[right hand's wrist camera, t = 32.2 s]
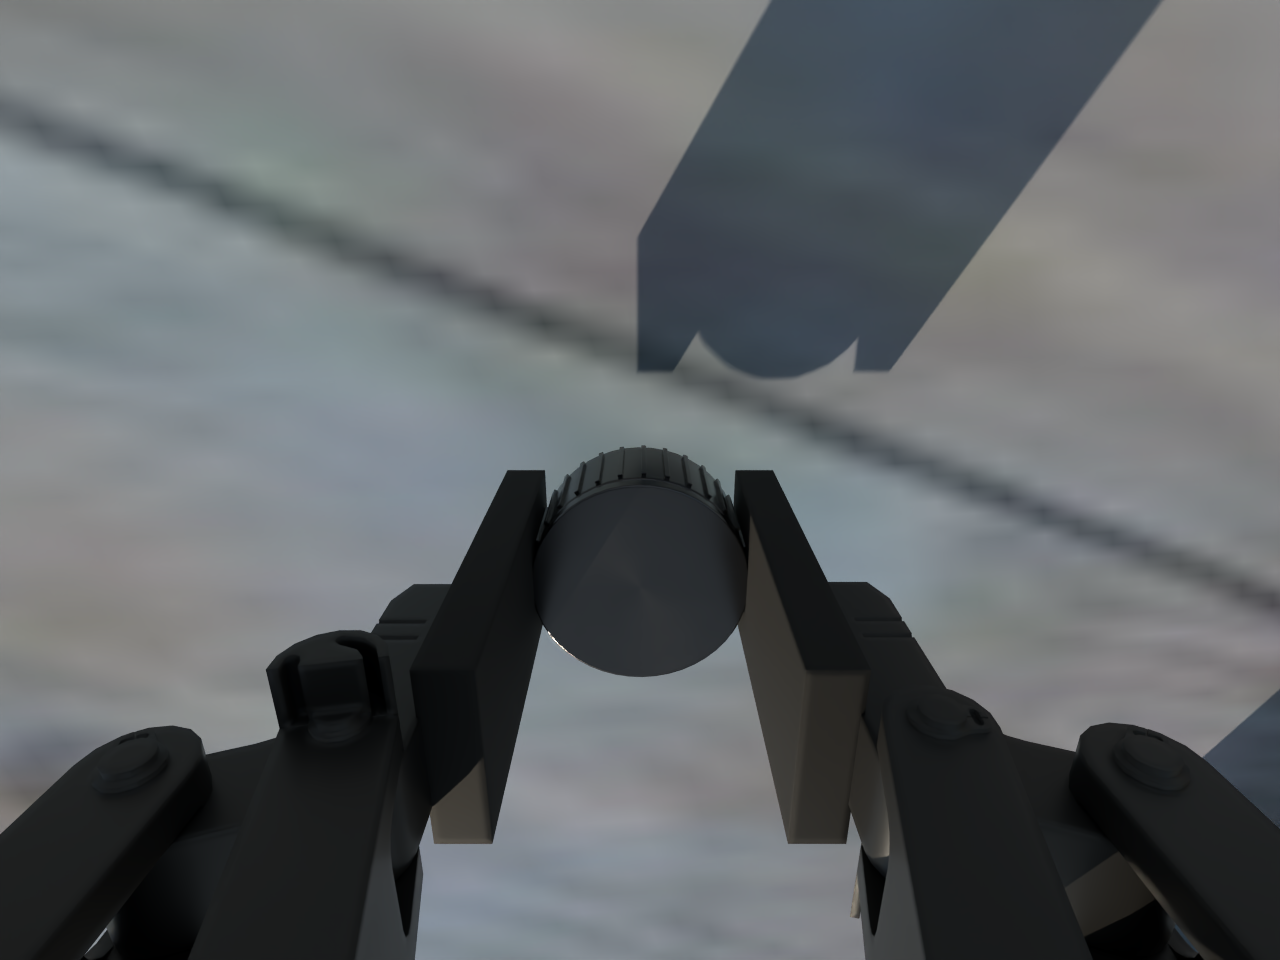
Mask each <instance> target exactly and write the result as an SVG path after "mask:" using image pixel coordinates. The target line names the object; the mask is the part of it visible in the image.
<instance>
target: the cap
mask: <svg viewBox="0 0 1280 960" xmlns="http://www.w3.org/2000/svg"><path fill="white" fill-rule="evenodd" d="M535 544H538V546H537V549H536V552H535V556H534V559H533V563H532V571H533V588H534V603H535V608H536V611H537V614H538V616H539V618H540V620H541V622H542V624H543V625H544V627H545V628H546V630H547V632H548V633H549V635H550V636H551V637H552V638H553V639H554V640H555V641H556V643H557V644H558V645H559V646H561V647H562V648H563V649H564V650H565V651H566V652H567V653H569V654H570V655H572V656H573V657H575V658H576V659H578V660H579V661H581V662H583V663H585V664H587V665H589V666H591V667H593V668H596V669H599V670H601V671H604V672H608V673H612V674H616V675H623V676H631V677H648V676H658V675H664V674H669V673H673V672H676V671H679V670H682V669H685V668H687V667H689V666H692V665H694V664H696V663H698V662H699V661H701V660H703V659H705V658H706V657H707V656H709V655H710V654H712V653H713V652H714V651H716V650H717V649H718V648H719V647H720V646H721V645H722V644H723V643H724V642H725V641H726V640H727V639H728V637H729V636H730V635H731V634H732V632H733V631H734V629H735V628H736V626H737V624H738V623H739V621H740V619H741V617H742V615H743V612H744V610H745V607H746V595H747V579H748V561H747V557H746V554H745V551H744V550H745V543H744V540H743V536H742V533H741V530H740V526H739V523H738V520H737V517H736V513H735V511H734V507H733V504H732V501H731V498H730V496H729V495H727V496H726V494H725V492H724V491H723V490H722V488H721V484H720V481H719V480H718V479H716V480H715V479H714V478H713V477H712V476H711V475H710V474H709V473H708V472H706V469H705V467H704V466H703V465H701V467H700V466H699V465H697V464H696V463H694V462H692V461H691V460H689V459H688V457H687V456H686V455H683V456H680V455H678V454H675V453H672V452H669V451H667V449H666V448H663V450H660V449H654V448H646V446H641V448H640V447H637V448H625V449H624V447H620V450H615V451H611V452H608V453H605V454H604V453H603V452H602V453H599V456H598V457H596V458H594V459H592V460H590V461H588V462H586V463H585V462H582V463H581V464H580V467H579V468H577V469H576V470H575V471H574V472H573V473H572V474H571V475H570V476H569V475H568V474H567V475H566V476H565V478H564V482H563V483H562V485H561V486H560V487H559V489H558V490H554V491H553V494H552V497H551V500H550V504H549V507H546V508H545V511H544V515H543V518H542V521H541V524H540V527H539V531H538V534H537V537H536V540H535Z"/></svg>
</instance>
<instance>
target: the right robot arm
mask: <svg viewBox="0 0 1280 960" xmlns="http://www.w3.org/2000/svg"><path fill="white" fill-rule="evenodd" d="M546 507H547V500H546V482H545V470H508V471H507V473H506V475H505V477H504V479H503V481H502V483H501V485H500V487H499V489H498V491H497V493H496V495H495V497H494V499H493V501H492V503H491V505H490V507H489V509H488V511H487V513H486V515H485V517H484V519H483V521H482V523H481V525H480V527H479V529H478V531H477V533H476V536H475V538H474V540H473V542H472V544H471V546H470V548H469V550H468V552H467V554H466V556H465V558H464V560H463V562H462V564H461V566H460V568H459V570H458V572H457V574H456V576H455V578H454V580H453V582H452V584H414V585H412V586H411V587H409V588H408V589H407V590H405V591H404V592H402V593H401V594H400V595H398V596H397V597H396V598H394V599H393V600H391V602H390V603H389V605H388V606H387V608H386V610H385V611H384V613H383V614H382V616H381V618H380V619H379V624H376V626H375V627H374V629H373V631H372V632H371V633H368V632H365V631H361V630H339V631H334V632H329V633H324V634H319V635H316V636H313V637H311V638H308V639H306V640H303V641H301V642H298V643H296V644H294V645H292V646H291V647H289V648H288V649H286V650H285V651H283V652H282V653H280V654H279V655H277V656H276V658H275V659H274V660H273V661H272V663H271V664H270V665H269V666H268V668H267V669H266V672H267V676H268V681H269V685H270V689H271V694H272V698H273V702H274V706H275V711H276V715H277V719H278V723H279V728H280V729H279V732H278V734H277V737H276V738H274V739H270V740H267V741H264V742H260V743H257V744H253V745H248V746H243V747H239V748H234V749H230V750H225V751H221V752H216V753H212V754H207V755H206V754H205V750H204V747H203V744H202V740H201V738H200V737H199V736H198V735H197V734H196V733H194V732H193V731H192V730H191V729H187V728H182V727H177V726H163V727H153V728H147V729H143V730H140V731H137V732H132V733H129V734H127V735H123V736H121V737H119V738H117V739H115V740H113V741H111V742H109V743H107V744H105V745H103V746H101V747H99V748H97V749H95V750H94V751H92V752H91V753H90V754H88V755H87V756H86V757H84V758H83V759H82V760H80V761H79V762H78V763H76V764H75V765H74V766H73V767H72V768H70V769H69V770H68V771H67V772H66V773H65V774H64V775H63V776H62V777H61V778H60V779H59V780H58V781H57V782H56V783H55V784H53V785H52V786H51V787H50V788H49V789H48V790H47V791H46V792H45V793H44V794H43V795H42V796H41V797H40V798H39V799H37V800H36V801H35V802H34V803H33V804H32V805H31V806H30V807H29V808H28V809H27V810H26V811H25V812H24V813H23V814H22V815H20V816H19V817H18V818H17V819H16V820H15V821H14V822H13V823H12V824H11V825H10V826H9V827H8V828H7V829H6V830H5V831H3V832H2V833H1V834H0V960H415V951H416V941H417V931H418V921H419V911H420V901H421V891H422V880H423V869H422V862H421V856H420V849H419V844H420V841H421V838H422V835H423V833H424V830H425V827H426V824H427V821H428V818H429V815H430V818H431V824H432V831H433V838H434V844H492V843H493V839H494V834H495V830H496V825H497V821H498V817H499V812H500V808H501V804H502V799H503V795H504V791H505V786H506V782H507V778H508V773H509V769H510V765H511V760H512V756H513V752H514V747H515V743H516V738H517V734H518V730H519V725H520V721H521V717H522V712H523V708H524V704H525V699H526V695H527V691H528V686H529V682H530V678H531V673H532V669H533V664H534V660H535V656H536V651H537V647H538V643H539V638H540V634H541V630H542V625H543V624H542V622H541V620H540V618H539V616H538V614H537V611H536V608H535V603H534V588H533V571H532V563H533V559H534V556H535V552H536V549H537V546H538V544H535V540H536V537H537V534H538V531H539V527H540V524H541V521H542V518H543V515H544V511H545V508H546ZM734 511H735V513H736V517H737V520H738V523H739V526H740V530H741V533H742V536H743V540H744V543H745V550H744V551H745V554H746V557H747V561H748V579H747V595H746V607H745V610H744V612H743V615H742V617H741V619H740V621H739V623H738V628H739V632H740V637H741V641H742V645H743V650H744V654H745V658H746V663H747V667H748V671H749V676H750V680H751V684H752V689H753V693H754V697H755V702H756V706H757V711H758V715H759V719H760V724H761V728H762V732H763V737H764V741H765V745H766V750H767V754H768V758H769V763H770V767H771V771H772V776H773V780H774V784H775V789H776V793H777V798H778V802H779V806H780V811H781V815H782V819H783V824H784V828H785V832H786V837H787V841H788V844H846V841H847V834H848V827H849V821H850V814H851V813H852V816H853V819H854V822H855V825H856V828H857V831H858V833H859V836H860V839H861V842H862V843H861V849H860V856H859V862H858V869H857V875H856V881H855V888H854V894H853V901H852V908H851V915H850V917H854V918H859V917H860V912H861V919H862V929H863V939H864V949H865V960H1280V829H1279V828H1278V827H1277V826H1276V825H1275V824H1274V823H1273V822H1271V821H1270V820H1269V819H1268V818H1267V817H1266V816H1265V815H1264V814H1263V813H1262V812H1261V811H1260V810H1259V809H1258V808H1256V807H1255V806H1254V805H1253V804H1252V803H1251V802H1250V801H1249V800H1248V799H1247V798H1246V797H1245V796H1244V795H1243V794H1241V793H1240V792H1239V791H1238V790H1237V789H1236V788H1235V787H1234V786H1233V785H1232V784H1231V783H1230V782H1229V781H1227V780H1226V779H1225V778H1224V777H1223V776H1222V775H1221V774H1220V773H1219V772H1218V771H1217V770H1216V769H1215V768H1214V767H1212V766H1211V765H1210V764H1209V763H1208V762H1207V761H1206V760H1204V759H1203V758H1201V757H1200V756H1199V755H1197V754H1196V753H1195V752H1193V751H1192V750H1191V749H1189V748H1188V747H1187V746H1185V745H1183V744H1181V743H1179V742H1177V741H1175V740H1173V739H1171V738H1169V737H1167V736H1165V735H1163V734H1161V733H1158V732H1155V731H1152V730H1149V729H1145V728H1142V727H1138V726H1135V725H1129V724H1118V723H1104V724H1099V725H1094V726H1090V727H1089V728H1088V729H1087V730H1086V731H1085V732H1084V733H1083V734H1081V735H1080V738H1079V742H1078V745H1077V749H1076V752H1073V751H1069V750H1064V749H1060V748H1055V747H1051V746H1046V745H1041V744H1037V743H1032V742H1028V741H1024V740H1020V739H1017V738H1013V737H1010V736H1007V735H1004V734H1003V733H1002V730H1001V728H1000V726H999V725H998V724H997V722H996V721H995V719H994V718H993V716H992V715H991V713H990V712H988V711H987V710H986V709H984V708H983V707H982V706H981V705H979V704H978V703H977V702H975V701H974V700H972V699H970V698H968V697H966V696H964V695H961V694H959V693H957V692H955V691H953V690H949V689H946V687H945V686H944V684H943V683H942V681H941V679H940V678H939V676H938V675H937V673H936V671H935V670H934V668H933V667H932V665H931V663H930V662H929V660H928V659H927V657H926V655H925V654H924V652H923V651H922V649H921V647H920V646H919V644H918V643H917V641H916V640H915V638H914V637H912V633H911V632H910V630H909V628H908V627H907V625H906V624H905V622H904V621H902V617H901V616H900V614H899V612H898V611H897V609H896V608H895V606H894V604H893V603H892V601H891V600H890V598H888V597H887V596H886V595H884V594H883V593H881V592H880V591H879V590H877V589H876V588H874V587H873V586H872V585H870V584H869V583H867V582H828V581H827V579H826V577H825V575H824V573H823V571H822V569H821V567H820V565H819V563H818V561H817V559H816V557H815V555H814V553H813V551H812V549H811V547H810V545H809V543H808V541H807V539H806V537H805V535H804V533H803V531H802V529H801V526H800V524H799V522H798V520H797V518H796V516H795V514H794V512H793V510H792V508H791V506H790V504H789V502H788V500H787V498H786V496H785V494H784V492H783V490H782V488H781V486H780V484H779V482H778V480H777V478H776V476H775V474H774V472H773V470H736V471H735V490H734ZM1175 924H1176V925H1177V926H1178V927H1179V928H1180V930H1181V931H1182V932H1183V934H1184V935H1185V936H1186V937H1187V939H1188V940H1189V941H1190V942H1191V944H1192V945H1193V946H1194V947H1195V949H1196V950H1197V951H1198V953H1197V952H1196V951H1194V950H1193V949H1192V948H1191V947H1190V945H1189V944H1188V943H1187V942H1186V941H1185V940H1184V939H1183V938H1182V936H1181V935H1180V934H1179V932H1178V931H1177V930H1176V929H1175ZM105 928H107V931H106V932H105V933H104V935H103V936H102V937H101V938H100V940H99V941H98V942H97V944H96V945H94V946H93V947H92V948H91V949H90V950H89V948H90V947H91V946H92V944H93V943H94V942H95V941H96V939H97V938H98V937H99V935H100V934H101V933H102V932H103V930H104V929H105ZM88 950H89V951H88ZM87 951H88V952H87ZM86 952H87V953H86ZM85 953H86V954H85Z"/></svg>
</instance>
